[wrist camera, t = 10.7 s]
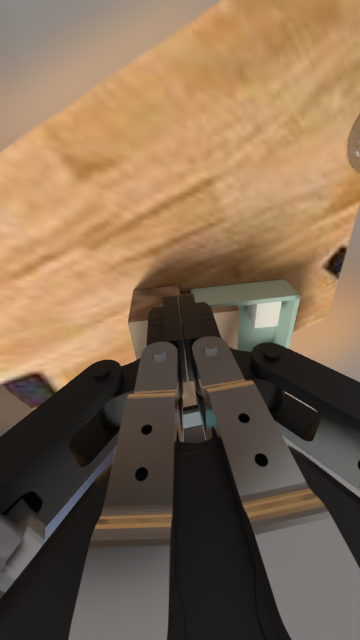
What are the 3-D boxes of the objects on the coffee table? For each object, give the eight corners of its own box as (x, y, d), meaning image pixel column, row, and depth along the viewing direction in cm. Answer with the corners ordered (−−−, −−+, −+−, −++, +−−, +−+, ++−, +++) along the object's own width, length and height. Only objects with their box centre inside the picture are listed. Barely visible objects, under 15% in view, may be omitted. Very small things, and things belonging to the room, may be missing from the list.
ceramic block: (246, 312, 47) (266, 310, 47) (254, 328, 43) (277, 326, 43) (248, 289, 44) (270, 287, 44) (257, 303, 40) (281, 300, 40)
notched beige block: (224, 280, 44) (239, 310, 36) (222, 356, 54) (234, 393, 46) (133, 290, 44) (127, 322, 35) (148, 364, 54) (147, 403, 46)
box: (285, 279, 45) (300, 295, 40) (273, 347, 54) (285, 366, 49) (190, 289, 44) (194, 306, 39) (194, 355, 53) (198, 376, 48)
